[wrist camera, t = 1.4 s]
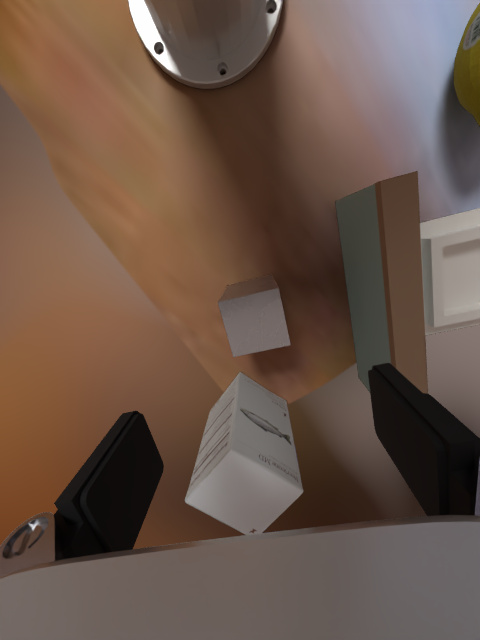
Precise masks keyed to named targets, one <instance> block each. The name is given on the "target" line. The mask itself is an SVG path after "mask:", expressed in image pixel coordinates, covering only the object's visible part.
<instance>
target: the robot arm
mask: <svg viewBox="0 0 480 640" xmlns="http://www.w3.org/2000/svg"><path fill="white" fill-rule="evenodd" d="M128 4H129V9H130V14H131V17H132V20H133V22H134V25H135V28H136V30H137V33H138V35H139V37H140V38H141V40H142V42H143V44H144V46H145V48H146V49H147V51H148V52H149V54H150V55H151V57H152V58H153V60H154V61H155V62H156V63H157V64H158V65H159V66H160V67H161V69H162V70H163V71H164V72H165V73H167V74H168V75H170V76H171V77H172V78H174V79H175V80H176V81H179V82H181V83H183V84H185V85H188V86H190V87H196V88H201V89H213V88H219V87H223V86H226V85H230V84H231V83H233V82H235V81H237V80H239V79H241V78H242V77H244V76H245V75H246V74H247V73H248V72H249V71H251V70H252V69H253V68H254V67H255V66H256V64H257V63H258V62H259V61H260V60H261V58H262V57H263V56H264V54H265V52H266V51H267V49H268V47H269V45H270V44H271V42H272V40H273V37H274V34H275V32H276V29H277V26H278V24H279V19H280V14H281V10H282V5H283V0H128ZM269 13H272V14H269ZM162 52H163V53H162ZM161 53H162V54H161ZM160 54H161V55H160ZM222 72H225V73H226V74H225V75H221V73H222ZM368 378H369V386H370V394H371V402H372V410H373V418H374V426H375V431H376V434H377V436H378V438H379V440H380V441H381V443H382V444H383V446H384V448H385V449H386V451H387V452H388V454H389V456H390V457H391V459H392V460H393V462H394V464H395V465H396V467H397V468H398V470H399V472H400V473H401V475H402V476H403V478H404V479H405V481H406V483H407V484H408V486H409V488H410V489H411V491H412V492H413V494H414V496H415V497H416V499H417V500H418V502H419V504H420V505H421V507H422V508H423V510H424V511H425V513H426V515H427V516H418V517H408V518H398V519H388V520H377V521H366V522H357V523H348V524H339V525H331V526H322V527H313V528H305V529H296V530H287V531H278V532H270V533H261V534H253V535H245V536H236V537H228V538H220V539H212V540H204V541H196V542H187V543H179V544H172V545H164V546H156V547H148V548H140V549H133V547H134V544H135V542H136V539H137V537H138V534H139V531H140V529H141V526H142V524H143V521H144V519H145V516H146V514H147V511H148V508H149V506H150V503H151V501H152V498H153V496H154V493H155V491H156V488H157V486H158V483H159V480H160V478H161V476H162V473H163V467H164V466H163V461H162V459H161V456H160V454H159V451H158V449H157V447H156V444H155V442H154V440H153V437H152V435H151V432H150V430H149V428H148V425H147V423H146V420H145V418H144V416H143V414H140V413H139V412H138V411H133V412H128V413H123V414H122V415H121V416H120V417H119V419H118V420H117V421H116V423H115V424H114V425H113V426H112V428H111V429H110V430H109V432H108V433H107V434H106V436H105V437H104V438H103V440H102V441H101V442H100V444H99V445H98V446H97V448H96V449H95V450H94V452H93V453H92V454H91V456H90V457H89V458H88V459H87V461H86V462H85V463H84V465H83V466H82V467H81V469H80V470H79V471H78V473H77V474H76V475H75V477H74V478H73V479H72V480H71V482H70V483H69V484H68V486H67V487H66V489H65V490H64V491H63V492H62V494H61V495H60V496H59V498H58V499H57V500H56V502H55V503H54V504H55V505H56V507H57V508H58V510H57V512H56V513H55V514H54V515H53V514H52V513H50V512H43V513H40V514H37V515H35V516H33V517H32V518H30V519H28V520H27V521H25V522H24V523H22V524H21V525H20V526H18V527H17V528H16V529H15V530H14V531H13V532H12V533H11V534H10V535H9V536H8V537H7V539H6V540H5V541H4V542H3V543H2V545H1V546H0V640H480V438H478V437H477V436H476V435H475V434H474V433H473V432H472V431H471V430H469V429H468V428H467V427H466V426H465V425H464V424H463V423H461V422H460V421H459V420H458V419H457V418H456V417H455V416H454V415H452V414H451V413H450V412H449V411H448V410H447V409H446V408H444V407H443V406H442V405H441V404H440V403H439V402H438V401H436V400H435V399H434V398H433V397H432V396H431V395H429V394H427V393H422V392H421V391H420V390H419V389H418V388H417V387H416V386H415V385H413V384H412V383H411V382H410V381H409V380H408V379H407V378H406V377H405V376H404V375H402V374H401V373H400V372H399V371H398V370H397V369H396V368H395V367H394V366H393V365H391V364H390V363H384V364H379V365H373V366H372V370H369V371H368Z"/></svg>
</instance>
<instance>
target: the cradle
mask: <svg viewBox="0 0 480 640" xmlns="http://www.w3.org/2000/svg"><path fill="white" fill-rule="evenodd" d="M420 236H421V257H422V278H423V299H424V321H425V336H426V335H430V334H436V333H441V332H445V331H451V330H456V329H461V328H466V327H471V326H476V325H480V208H477V209H473V210H469V211H465V212H461V213H457V214H453V215H449V216H445V217H441V218H437V219H433V220H429V221H425V222H421V223H420Z"/></svg>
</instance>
